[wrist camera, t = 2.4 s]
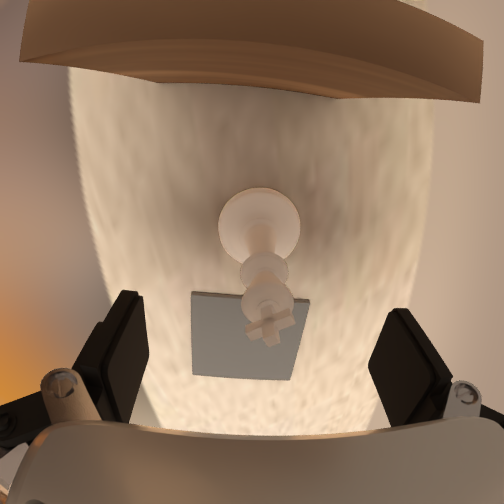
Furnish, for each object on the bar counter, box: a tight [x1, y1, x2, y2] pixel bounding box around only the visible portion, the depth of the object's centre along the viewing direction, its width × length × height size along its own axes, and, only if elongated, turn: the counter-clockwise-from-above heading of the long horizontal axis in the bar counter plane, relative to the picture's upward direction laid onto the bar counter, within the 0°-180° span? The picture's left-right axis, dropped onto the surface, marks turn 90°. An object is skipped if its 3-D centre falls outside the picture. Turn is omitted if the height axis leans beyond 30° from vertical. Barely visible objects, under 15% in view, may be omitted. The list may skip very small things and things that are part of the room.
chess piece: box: [218, 188, 300, 347], centre depth 15 cm, size 5×5×10 cm
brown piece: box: [19, 0, 483, 103], centre depth 9 cm, size 5×10×12 cm, turn 84°
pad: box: [191, 292, 310, 380], centre depth 23 cm, size 8×8×1 cm
